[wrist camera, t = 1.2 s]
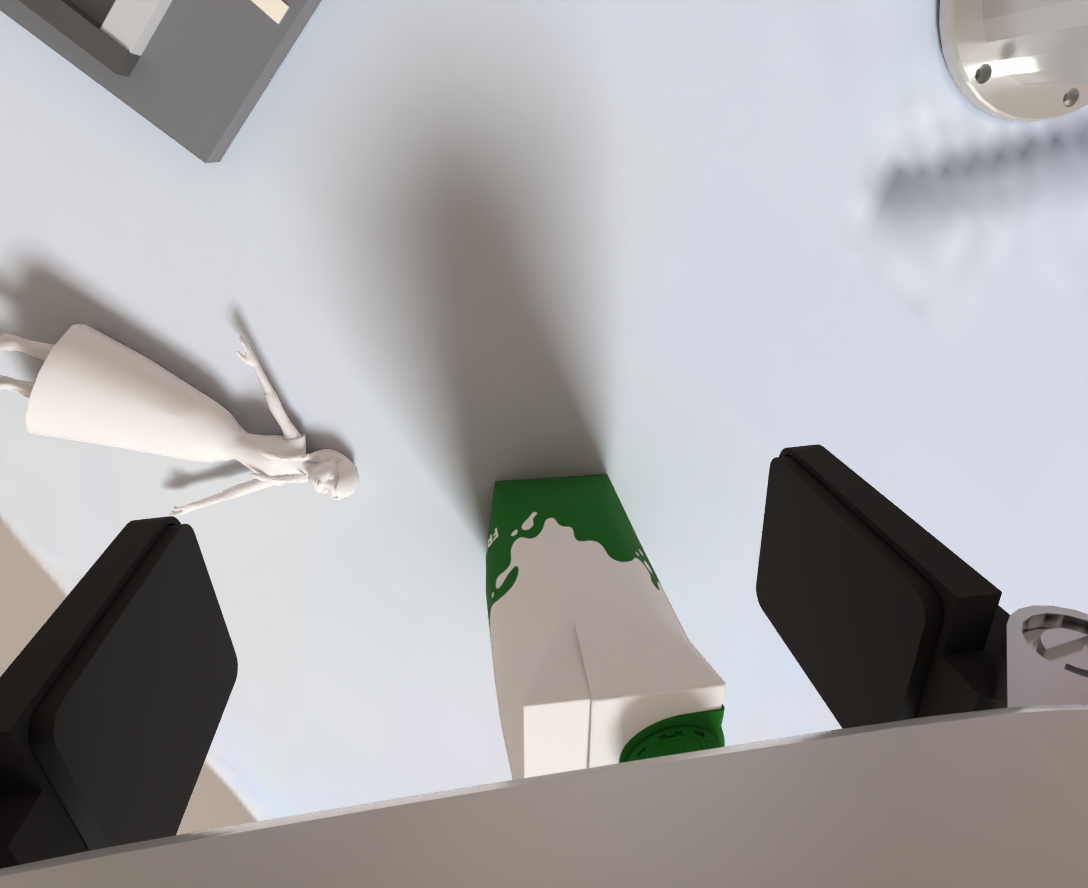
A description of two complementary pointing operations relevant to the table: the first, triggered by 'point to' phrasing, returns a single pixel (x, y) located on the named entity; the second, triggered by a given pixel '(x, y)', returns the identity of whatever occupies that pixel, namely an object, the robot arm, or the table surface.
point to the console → (174, 56)
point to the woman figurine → (163, 414)
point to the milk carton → (587, 635)
